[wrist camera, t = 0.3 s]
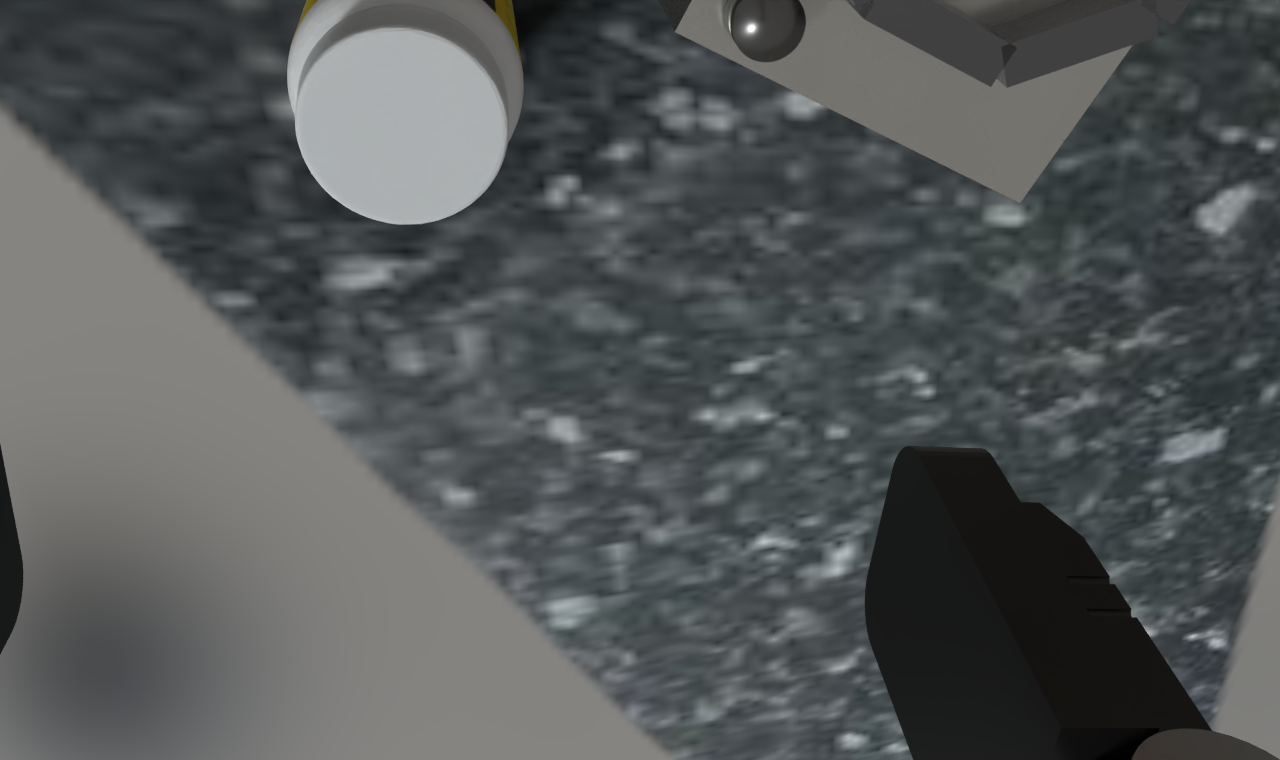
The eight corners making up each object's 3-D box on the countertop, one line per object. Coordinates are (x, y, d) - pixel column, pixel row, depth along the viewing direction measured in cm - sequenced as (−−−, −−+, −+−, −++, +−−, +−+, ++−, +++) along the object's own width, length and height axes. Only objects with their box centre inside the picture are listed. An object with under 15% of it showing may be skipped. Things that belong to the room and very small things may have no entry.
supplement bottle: (514, -92, 29) (538, 11, 22) (509, 100, 31) (529, 247, 24) (305, -103, 28) (262, -1, 21) (318, 94, 31) (282, 244, 24)
